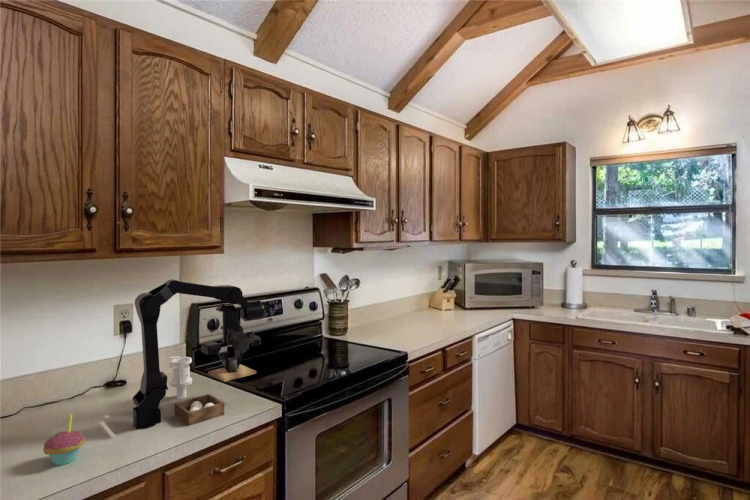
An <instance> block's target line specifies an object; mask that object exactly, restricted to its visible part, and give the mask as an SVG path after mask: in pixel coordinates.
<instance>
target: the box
mask: <svg viewBox="0 0 750 500" xmlns="http://www.w3.org/2000/svg"><path fill="white" fill-rule="evenodd" d="M195 401H199V402H201V403H202V406H203V407H202V409H198V410H195V411H192V412H190V411H189V410H190V406H191V404H192V403H193V402H195ZM207 403H213V404H214V405H212V406H209V407H205V408H204V406H205V405H206V404H207ZM174 416H175V417H176V418H177V419H179V420H180V421H182V422H183V423H185V424H186V425H187V426H188V427H190V426H194V425H196V424H199V423H203V422H206V421H209V420H212V419H215V418H218V417H222V416H225V403H224V401H222V400H220V399H218V398H217V397H215V396H213V395H211V394H209V393H207V394H204V395H200V396H196V397H193V398H188V399H185V400H181V401H178V402H175V403H174Z"/></svg>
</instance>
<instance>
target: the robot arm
mask: <svg viewBox="0 0 750 500" xmlns="http://www.w3.org/2000/svg"><path fill="white" fill-rule="evenodd" d="M176 294H183V295H189V296H199V297H204V298H212V299H216V300H218V301H222V302H225V303H228V304H224V303H222V302H221V303H220V304H219V305H218V306H217V307H216V308H215V310H216V311H217V312H219V313H221V312H222V314H221V315H222V316H221V317H222V325H221V326H220V330H222V337H220V338H221V339H220V343H219V342H215V341H208V342H202V345H200V346H201V347H200V352H201V353H202V354H205V355H207V356H208V355H209V356H210V355H211V356H212V355H218V357H219V359H220V360H221V362H222V366H223V368H225V369H226V371H228V370H229V362H228V359H229V355H230V351H228V348H233V349H234V358H237V369H238V368H239V365H240V364H241V362H242V359H243V357H244V354H245V353H246V352H247V351H248V350H250V345H251V346H252V347H257V346H260V345H261V343H262V342H261V341H262V340H261V337H260V336H259V335H255V332H253V331H248V332H244V328H243V326H242V322H241V321H242V320H243V321H244V322H251V321H259V320H263V318H264V314H265V313H264V308H263V306H262V304H261V302H262V301H261V300H259V299H254V300H250V301H247V299H246V298H245V297H244V296H243V291H242V289H241V288H240V287H237V286H234V285H230V284H227V285H226V284H222V285H207V284H202V283H201V284H200V283H194V282H188V281H180V280H177V279H168V280H166V281H165V282H164V283H163V284H161V285H158V286H157V287H155V288H153V289H151V290H149V291H148V292H143V293H140V294H138V295H137V296H136V298H135V300H134V307H135V310H136V314H137V318H138V319H139V320H138V321H139V323H140V328H141V342H142V343H141V344H142V346H141V347H142V356H143V357H142V358H143V373H142V376H141V379H140V380H141V381H140V388H139V390H138V391H137V392H136V393H135V394H134V396H132V398H131V400H132V402H133V404H134V405H135V407H132V418H133V419H132V424H133V428H134V429H135V430H145V429H149V428H152V427H155V426H156V425H158V424H160V423H161V422H162V409H161V408H160V403H161V402H162V400H163V399H164V398H165V397H166V394H167V390H169V387H168V385H167V384H168V375H167V374H166V373H164V372H163V371H161V369H160V354H159V353H160V352H159V338H158V322H159V319H160V315H161V308H162V305H164V304H166V303H167V302H168V301H169V300H170V299H172V297H174V296H175V295H176ZM236 305H237V306H236Z"/></svg>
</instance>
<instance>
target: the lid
mask: <svg viewBox="0 0 750 500" xmlns="http://www.w3.org/2000/svg"><path fill="white" fill-rule="evenodd" d="M228 362H229V370H228V371H226V369H225V367H222V368H221V367H220V368H216V369H213V370H208V374H207V375H210V376H212V377H214V378H216V379H218V380H220V381H222V382H228V381H232V380H237V379H241V378H244V377H249V376H253V375H256V374H257V370H255V369H253V368H250V367H248V366H246V365H243V364H241V363H240V365H239V368H238V369H237V358H235V357H232V358H231V357H230V358H228Z"/></svg>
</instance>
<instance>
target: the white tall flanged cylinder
mask: <svg viewBox="0 0 750 500" xmlns="http://www.w3.org/2000/svg"><path fill="white" fill-rule="evenodd" d="M192 359H193V358H192V357H190V356H178V355H176V356H170V357H169V368H170V369H171V368H172V370H171V371H172V372H171V377H172V378H171V380H170V381H169V385H170V387H173V388H176V398H177V399H180V400H181V399H184V398H186V397H187V386H188V385H191V384H192V383H193V378H192V377H191V376H190V374H191V371H190V370H191V368H190V364H192V361H193V360H192Z"/></svg>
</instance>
